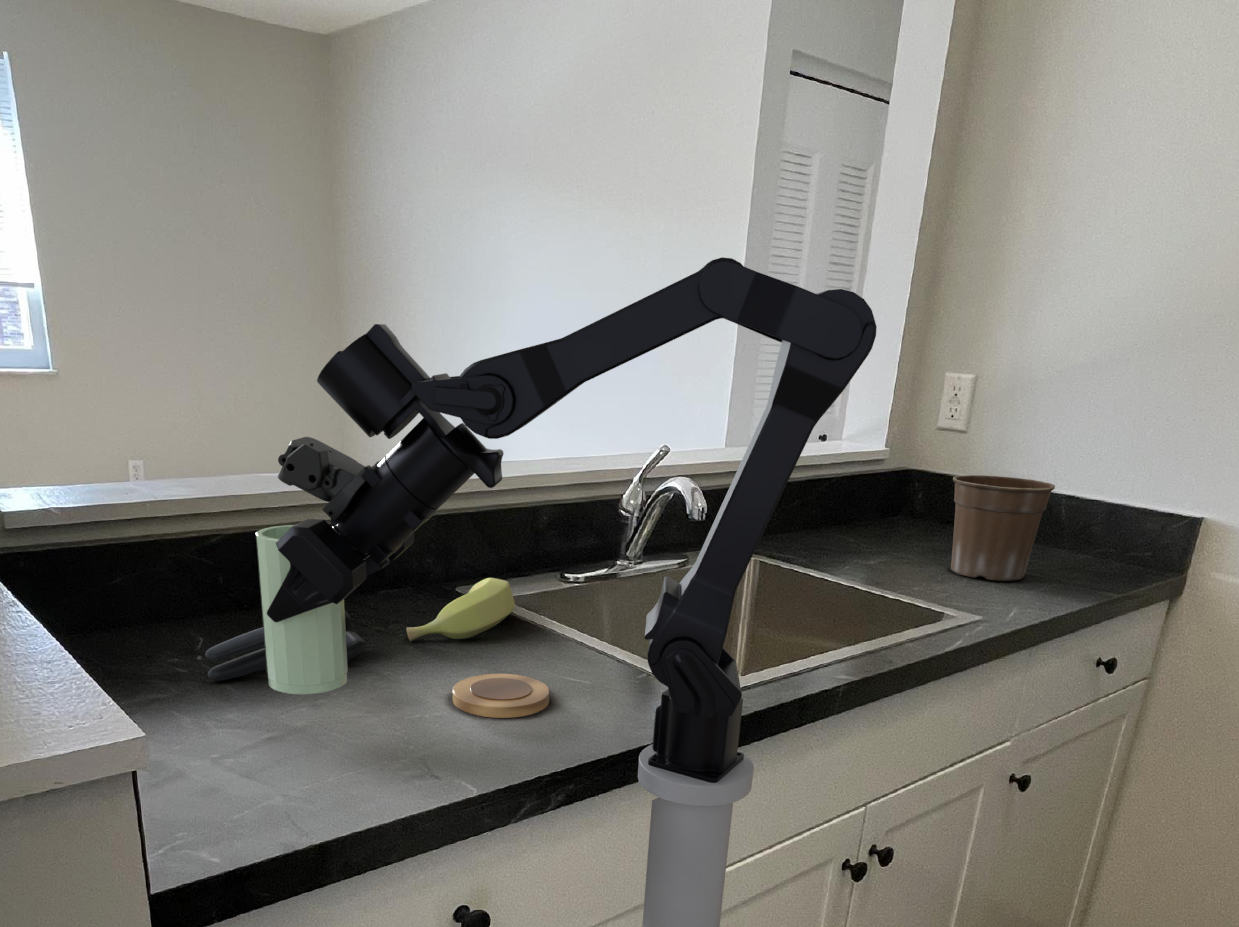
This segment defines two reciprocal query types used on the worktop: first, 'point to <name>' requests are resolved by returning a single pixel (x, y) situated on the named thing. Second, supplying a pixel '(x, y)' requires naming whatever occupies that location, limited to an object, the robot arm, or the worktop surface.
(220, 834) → the worktop surface
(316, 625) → the tumbler
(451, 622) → the banana
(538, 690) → the coaster
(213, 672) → the can opener
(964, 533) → the plant pot
